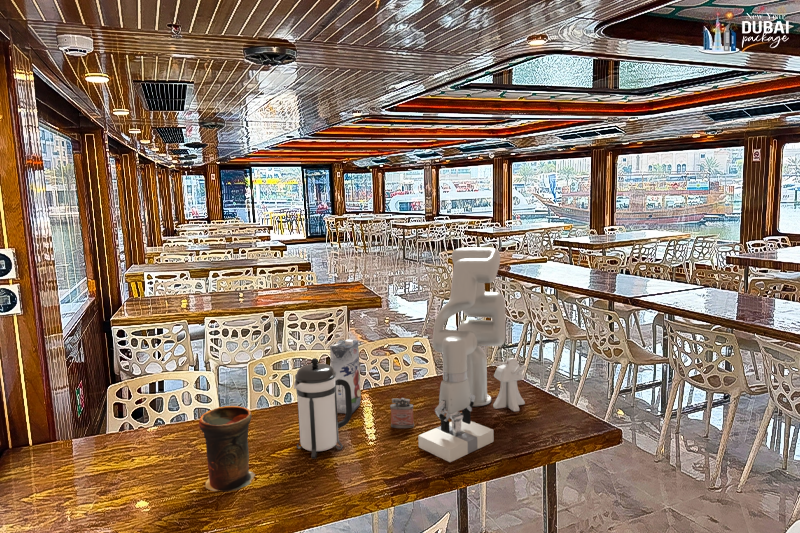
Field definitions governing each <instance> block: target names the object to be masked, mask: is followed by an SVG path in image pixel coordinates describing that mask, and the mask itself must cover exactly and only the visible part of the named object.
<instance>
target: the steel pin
mask: <svg viewBox="0 0 800 533" xmlns="http://www.w3.org/2000/svg"><path fill="white" fill-rule="evenodd" d="M449 419H450V420H451V422H452V435H453V436H455V437H457V436H460V435H462V433H461V420H462V419H463V413H462V411H461V412H460V411H458V412H455V413H453V414H450V416H449Z"/></svg>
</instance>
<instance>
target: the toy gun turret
mask: <svg viewBox="0 0 800 533" xmlns="http://www.w3.org/2000/svg"><path fill="white" fill-rule="evenodd" d="M490 366H497V368H496V369H495V372H494V374H493V377H494V379H496V380H498V381H499V382H500V388H499V391H498V394H497V397H496V399H495V400H494V402H493V405H492V406H493V408H494V409H497V410H498V409H503V408H508V409H510V410H511V411H512V412H519V411H520V407H519V406H522V405H525V404H526V403H525V402H526V401H525V400H524V399H523V397H522V396H521V393H520V391H519V388H518V381H522V380H523V379H524V378H525V376H524V374H523V371H524V370H525V369H526V367H527V366H526V365H525V364H523V365H522V366H520V364H519V363H518V360H517V359H515V358H514V357H508V358H506V360H505V361H500V362H490Z"/></svg>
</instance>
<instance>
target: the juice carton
mask: <svg viewBox="0 0 800 533" xmlns="http://www.w3.org/2000/svg"><path fill="white" fill-rule="evenodd" d="M329 349H330V350H329V352H330V354H329V355H330V356H329V357H330V366H331V367H332V368H333V369H334V371H335V372H336V377H335V381H336V380H337V379H342V380H345V381H347V382H348V383H349V385H350V388H351V400H352V414H354V412H355V411H356V410H357V409H358V408H359V407H360V406H361V400H362V396H361V394H362V393H361V392H362V391H361V375H360V374H361V372H360V353H359V352H360V351H359V341H358V340H353V339H344V340H343V339H342V340H341V339H339V340H338V341H337V342H336V343H334V344H332V345H330V346H329ZM336 397H337V414H346V399H345V388H344V386H343V385H336Z"/></svg>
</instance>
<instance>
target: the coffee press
mask: <svg viewBox="0 0 800 533" xmlns="http://www.w3.org/2000/svg"><path fill="white" fill-rule="evenodd" d="M310 362H311V363H309V364H306V365H303V366H301V367H300V368H298V370H297V371H296V374H295V375H294V383H293V389H294V390H295V389H296V398H297V399H296V400H297V415H298V430H299V432H298V433H299V440H298V442H297V444H296V449H298V450H300V449H302V448H303V449H305V450H307V451H309V452H311V455H310V456H311V459H312V460H313V459H314V460H315V459H317V458H318V453H319V452H323V451H327V450H330V449H332V448H334V447H335V448H336V449H337V450H338V451H341V450H342V449H343V448H344V447H343V444H342V442H341V441H340V439H339V438H340V437H339V429H340V428H343V427H345V426H346V425H347V424H348V423H349V422H350V420H351V419H352V414H353V413H352V400H351V388H350V385H349V383H348V382H347V381H345V380H342V379H337V380H336V381H335V377H336V372H335V371H334V369H333V368H332V367H331V364H327V363H319V360H318V359H317V357H316V358H315V357H314V358H312V359H311V361H310ZM336 385H343V386H344V388H345V399H346V413H345V416H344V418H343V419H342V420H340V421H338V420H339V419H338V418H339V417H338V413H337V397H336ZM299 444H300V445H301V446H299ZM337 444H338V445H339V446H338V445H337Z"/></svg>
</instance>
